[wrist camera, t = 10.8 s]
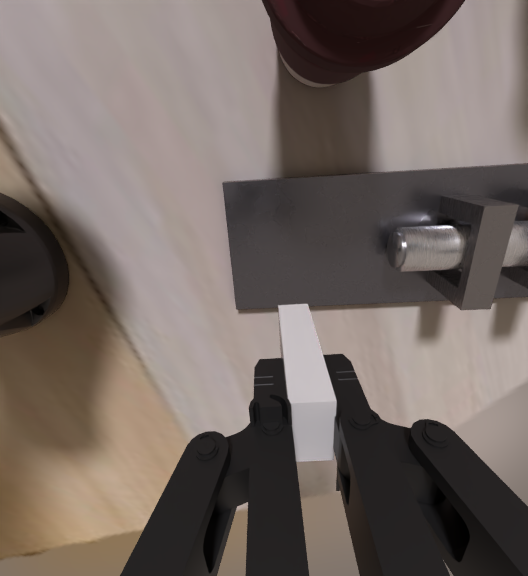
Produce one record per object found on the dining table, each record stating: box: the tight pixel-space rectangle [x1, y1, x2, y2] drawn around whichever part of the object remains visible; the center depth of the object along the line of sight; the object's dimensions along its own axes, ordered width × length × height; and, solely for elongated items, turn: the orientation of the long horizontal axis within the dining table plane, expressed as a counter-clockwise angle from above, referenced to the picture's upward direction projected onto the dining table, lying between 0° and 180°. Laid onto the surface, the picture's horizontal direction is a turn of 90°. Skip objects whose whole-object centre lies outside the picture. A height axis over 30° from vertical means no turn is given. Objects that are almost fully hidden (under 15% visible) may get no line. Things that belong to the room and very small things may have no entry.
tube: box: [387, 221, 528, 272], centre depth 27 cm, size 18×4×4 cm, turn 93°
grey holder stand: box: [223, 163, 528, 310], centre depth 27 cm, size 32×13×8 cm, turn 93°
